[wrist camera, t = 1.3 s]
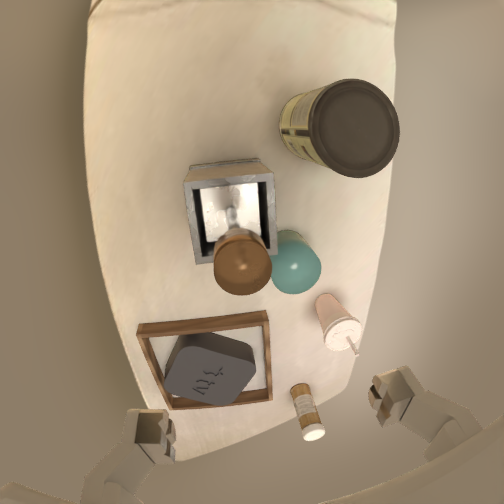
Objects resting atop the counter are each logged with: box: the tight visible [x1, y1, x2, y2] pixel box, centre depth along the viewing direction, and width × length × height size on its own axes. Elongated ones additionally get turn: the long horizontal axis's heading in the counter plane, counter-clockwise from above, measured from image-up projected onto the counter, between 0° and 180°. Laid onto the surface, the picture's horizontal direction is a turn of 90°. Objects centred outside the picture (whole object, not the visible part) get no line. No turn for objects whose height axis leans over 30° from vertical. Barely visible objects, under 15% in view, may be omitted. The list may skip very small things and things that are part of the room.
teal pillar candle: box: [269, 230, 321, 294], centre depth 42 cm, size 7×7×7 cm
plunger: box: [200, 182, 272, 295], centre depth 26 cm, size 6×6×14 cm
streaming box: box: [164, 332, 256, 406], centre depth 51 cm, size 14×14×5 cm
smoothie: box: [315, 294, 362, 356], centre depth 44 cm, size 6×6×14 cm
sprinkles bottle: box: [290, 384, 325, 441], centre depth 54 cm, size 5×5×14 cm
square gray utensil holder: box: [183, 158, 278, 265], centre depth 35 cm, size 9×9×12 cm
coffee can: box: [279, 79, 400, 178], centre depth 32 cm, size 10×10×14 cm
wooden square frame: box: [136, 310, 273, 410], centre depth 52 cm, size 23×23×3 cm
